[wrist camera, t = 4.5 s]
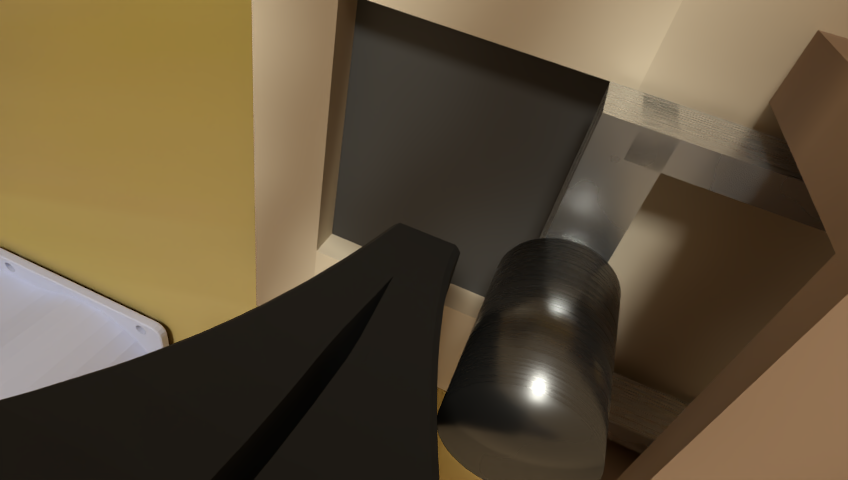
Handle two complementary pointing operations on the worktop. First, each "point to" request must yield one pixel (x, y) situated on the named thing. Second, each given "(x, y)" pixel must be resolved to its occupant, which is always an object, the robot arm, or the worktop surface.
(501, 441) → the slider frame
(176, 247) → the worktop surface
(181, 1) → the worktop surface
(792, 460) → the tunnel deck
